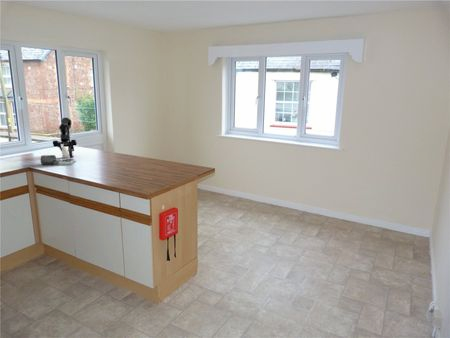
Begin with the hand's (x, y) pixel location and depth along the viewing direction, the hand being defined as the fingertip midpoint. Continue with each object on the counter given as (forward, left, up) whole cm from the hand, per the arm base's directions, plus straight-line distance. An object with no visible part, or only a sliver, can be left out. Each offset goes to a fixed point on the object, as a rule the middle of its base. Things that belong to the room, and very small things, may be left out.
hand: (65, 150), depth 292 cm
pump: (-1, 0, -7) cm, 7 cm away
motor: (-1, -7, -12) cm, 14 cm away
